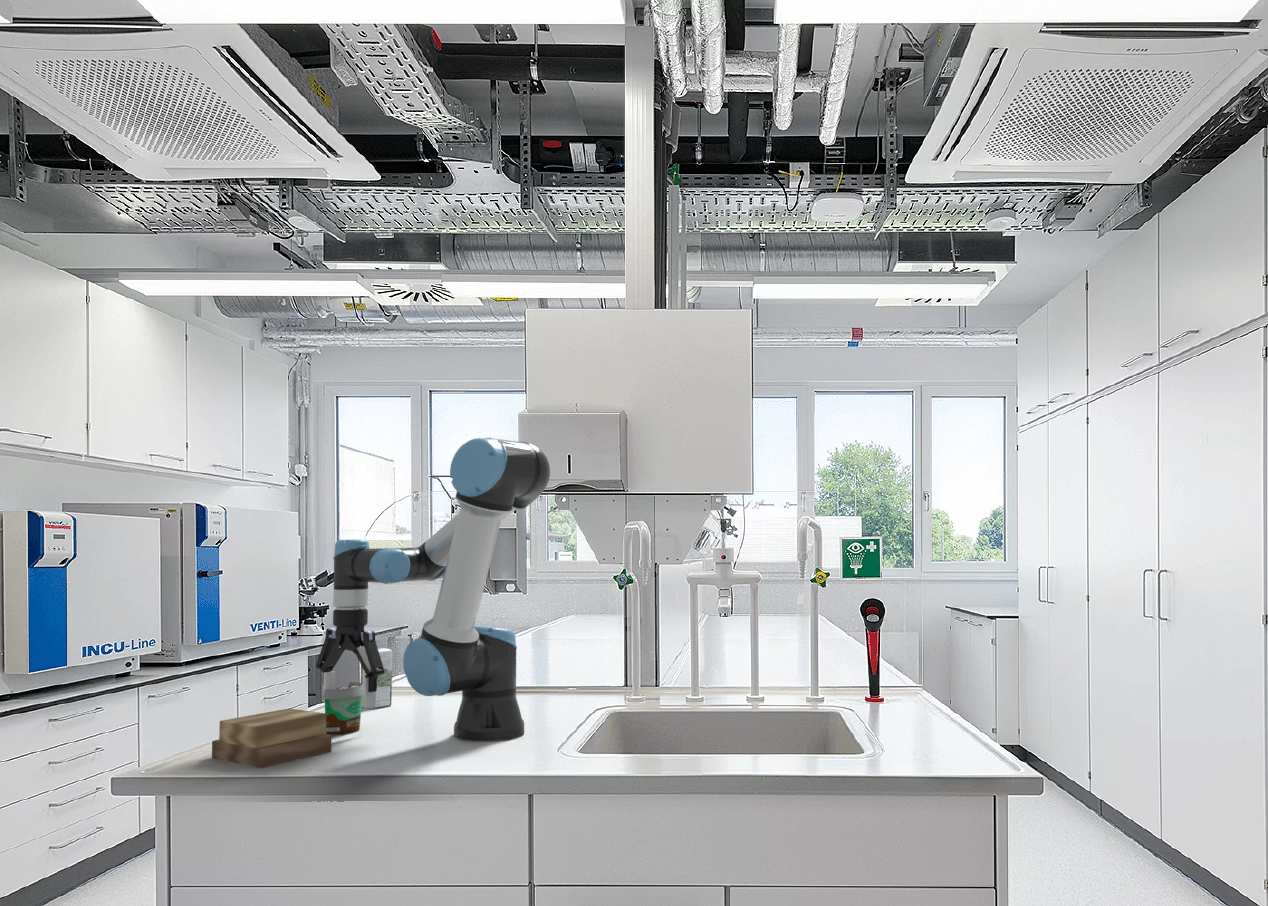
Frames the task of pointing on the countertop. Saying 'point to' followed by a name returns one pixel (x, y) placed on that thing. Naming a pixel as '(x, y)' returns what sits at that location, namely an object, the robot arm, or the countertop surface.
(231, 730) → the tower top
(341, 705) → the food container
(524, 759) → the countertop surface
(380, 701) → the syrup box
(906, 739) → the countertop surface
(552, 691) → the countertop surface
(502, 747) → the countertop surface
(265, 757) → the tower base
